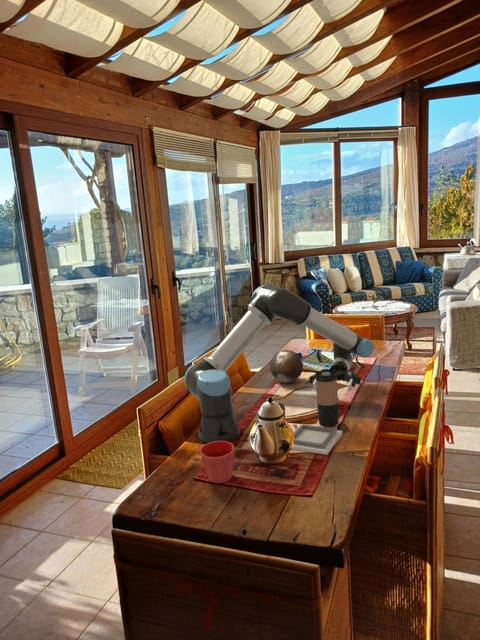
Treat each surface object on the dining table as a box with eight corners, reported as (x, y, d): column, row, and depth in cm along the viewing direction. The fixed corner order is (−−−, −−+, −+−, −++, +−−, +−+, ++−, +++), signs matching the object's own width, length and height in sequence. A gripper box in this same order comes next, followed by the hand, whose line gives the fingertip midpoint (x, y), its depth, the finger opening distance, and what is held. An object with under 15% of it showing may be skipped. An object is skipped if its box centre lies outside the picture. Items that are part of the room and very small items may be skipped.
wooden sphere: (268, 387, 234) (266, 356, 231) (274, 376, 248) (272, 346, 245) (301, 387, 231) (299, 355, 227) (305, 376, 245) (303, 345, 241)
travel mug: (339, 427, 188) (336, 375, 183) (317, 427, 189) (314, 376, 185) (339, 418, 195) (336, 368, 191) (318, 419, 197) (315, 369, 192)
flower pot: (207, 489, 155) (203, 460, 153) (200, 472, 166) (196, 444, 164) (241, 481, 158) (238, 452, 156) (232, 465, 168) (229, 437, 166)
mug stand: (282, 447, 177) (281, 441, 176) (300, 428, 190) (299, 422, 190) (327, 454, 169) (326, 448, 169) (342, 434, 183) (342, 427, 182)
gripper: (370, 378, 213) (365, 398, 194) (310, 377, 222) (300, 395, 202) (369, 361, 212) (364, 379, 192) (309, 360, 220) (298, 377, 201)
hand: (331, 387), depth 197 cm, fingers open, 13 cm apart
